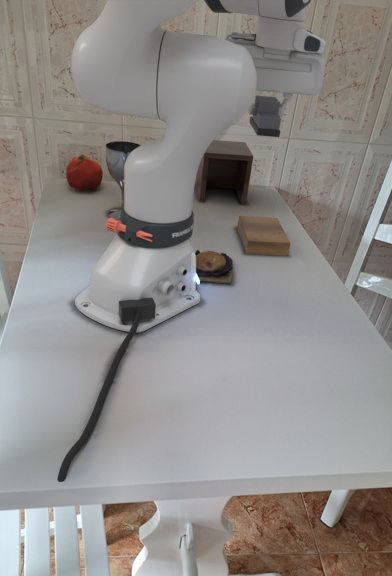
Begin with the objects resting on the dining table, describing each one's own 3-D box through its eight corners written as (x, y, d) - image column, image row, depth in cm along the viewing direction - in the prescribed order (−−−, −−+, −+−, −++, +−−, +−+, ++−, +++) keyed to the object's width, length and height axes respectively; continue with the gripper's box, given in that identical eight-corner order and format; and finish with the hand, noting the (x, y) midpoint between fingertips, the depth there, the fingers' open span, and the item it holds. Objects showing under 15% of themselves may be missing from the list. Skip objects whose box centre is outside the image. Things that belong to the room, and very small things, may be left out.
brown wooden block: (287, 255, 103) (290, 242, 101) (246, 253, 102) (248, 240, 100) (274, 230, 114) (277, 217, 112) (236, 228, 112) (238, 215, 111)
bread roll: (233, 286, 91) (236, 268, 89) (188, 281, 91) (190, 264, 89) (231, 259, 100) (233, 242, 97) (190, 255, 99) (191, 238, 97)
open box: (245, 204, 125) (253, 156, 118) (199, 201, 124) (204, 152, 116) (238, 187, 134) (245, 142, 127) (195, 185, 133) (199, 138, 126)
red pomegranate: (96, 181, 128) (94, 149, 123) (109, 193, 122) (108, 160, 117) (61, 184, 124) (58, 151, 119) (73, 197, 118) (71, 163, 113)
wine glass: (104, 208, 115) (102, 141, 105) (137, 207, 117) (138, 141, 108) (109, 221, 109) (108, 152, 100) (144, 220, 111) (146, 152, 102)
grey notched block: (249, 122, 105) (253, 93, 102) (270, 124, 106) (275, 95, 102) (256, 135, 97) (261, 104, 94) (279, 137, 98) (285, 106, 94)
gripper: (225, 32, 89) (217, 115, 97) (334, 43, 91) (316, 123, 99) (222, 28, 93) (213, 107, 102) (325, 39, 96) (308, 115, 104)
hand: (265, 115), depth 101 cm, fingers closed on grey notched block, 4 cm apart
